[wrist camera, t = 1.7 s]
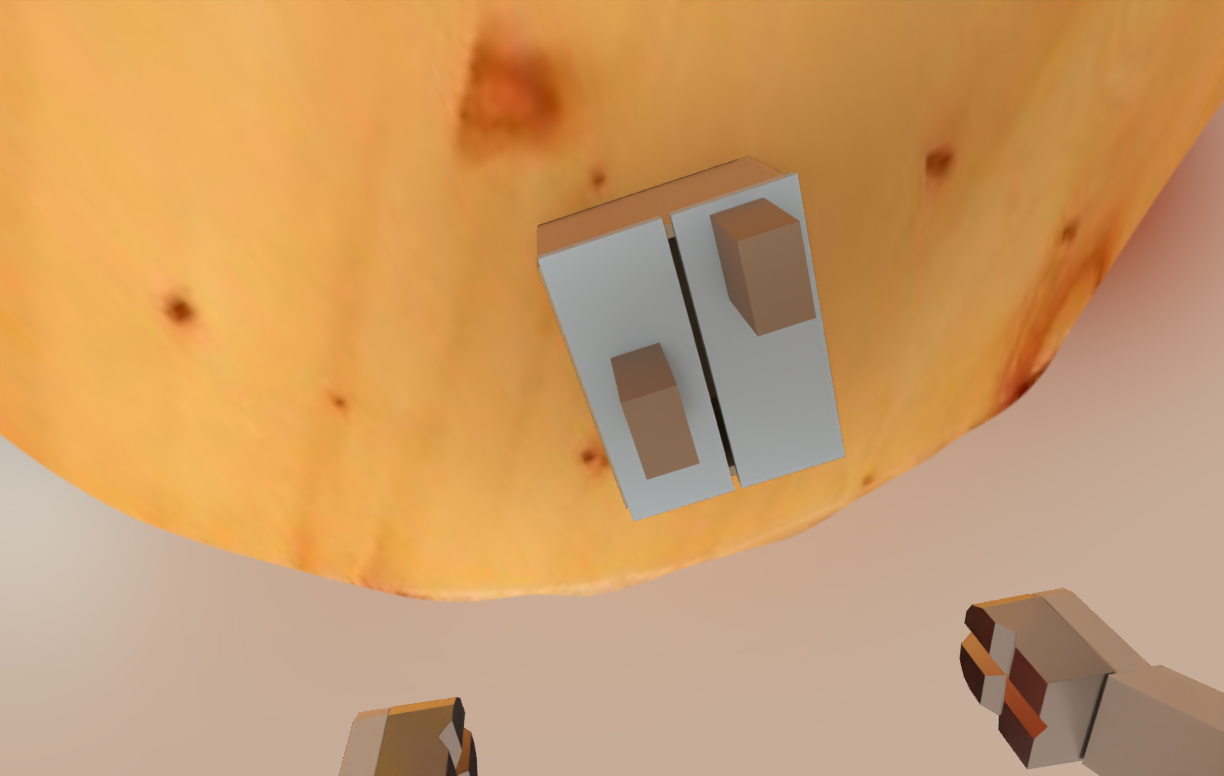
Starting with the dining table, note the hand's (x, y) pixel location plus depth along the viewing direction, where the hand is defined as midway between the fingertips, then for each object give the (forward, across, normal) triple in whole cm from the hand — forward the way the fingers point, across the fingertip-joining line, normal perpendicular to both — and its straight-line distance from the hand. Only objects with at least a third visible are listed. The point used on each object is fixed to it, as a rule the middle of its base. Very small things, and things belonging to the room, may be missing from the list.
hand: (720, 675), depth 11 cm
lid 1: (+22, -2, +5) cm, 23 cm away
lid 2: (+22, -8, +4) cm, 24 cm away
